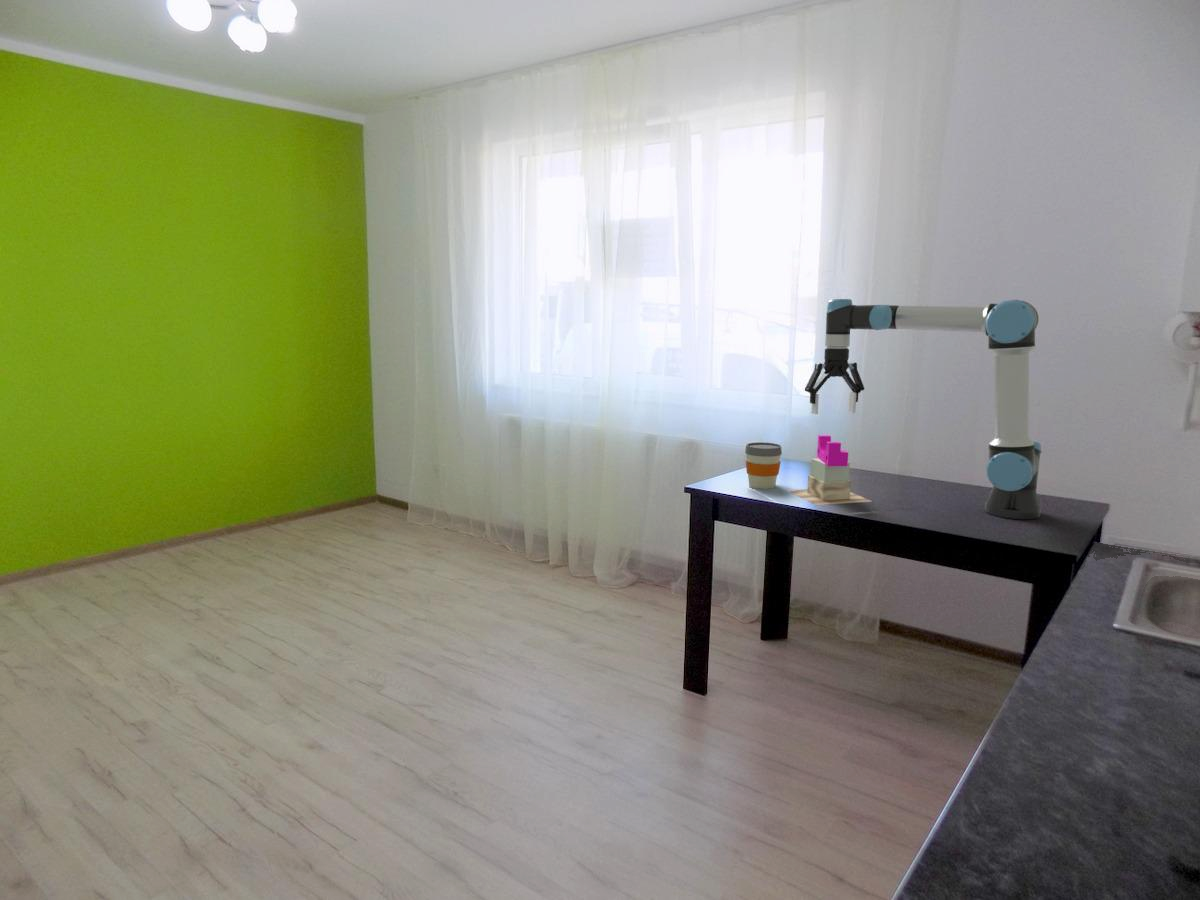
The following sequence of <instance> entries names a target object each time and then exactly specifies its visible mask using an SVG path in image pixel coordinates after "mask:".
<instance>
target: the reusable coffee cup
mask: <svg viewBox="0 0 1200 900" xmlns="http://www.w3.org/2000/svg"><path fill="white" fill-rule="evenodd" d="M782 451H783V450H782V445H781V444H778V443H774V442H773V443H772V442H762V441H761V442H750V443H749V442H748V443H747V444H746V445H745V453H744V454H745V457H746V459H745V467H746V474H747V477H748V487H749V489H753V490H754V489H763V490H764V489H773V488H775V487H776V483H777V477H778V475H779V474H780V469H781V468H780V467H781V461H780V460H781V455H783V453H782Z"/></svg>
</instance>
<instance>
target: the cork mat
mask: <svg viewBox="0 0 1200 900" xmlns="http://www.w3.org/2000/svg"><path fill="white" fill-rule="evenodd" d="M807 490H808V488H806V489H805V488H804V489H789V490H788V489H787V490H786V491H787V492H789V493H791V494H793V495H795V496H797V497H799V498H801V499H803V500H805V501H807V502H810V503H811V504H813V505H815V506H822V505H824V506H825V505H839V504H840V505H841V504H853V503H856V504H857V503H869V502H870V503H871V502H872V500H870V499H867V498H865V497H863V496H862V495H861V496H860V495H858V494H856V493H853V492H851V491H850V498H849V499H834V500H821V499H819V498H817V497H815V496H813V495H810V494H808V493H807Z"/></svg>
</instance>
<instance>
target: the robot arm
mask: <svg viewBox="0 0 1200 900" xmlns="http://www.w3.org/2000/svg"><path fill="white" fill-rule="evenodd" d="M825 319H826V322H825V338H824V339H825V340H824V341H825V342H824V343H825V344H824V346H825V347H826V348H825V349H824V363H821V362H816V363H815V364H814V370H813V371H812V374H811V375H810V378H809V380H808V382H807V384H806V386H805V387H804V391H805V392H807V393H809V404H811V414H813V415H819V414H818V413H819V399H820V397H819V396H820V395H819V393H818V392H819V391H820V390H821V388H822V387H823V385H825V383H826V382H827V380H828V379H830V378H831V377H832V378H836V377H840V378H843V381H844V382H845V383H846V384H847V386H848V387H849V389H850V390H851V391H849V399H848V402H849V403H848V404H849V405H848V413H853V414H854V413H856V410H857V409H856V408H857V407H856V405H857V404H856V403H858V401H859V393H861V392H862V391H864V390H865V386H864V383H863V381H862V378H861V375H860V373H859V371H858V363H857V362H854V361H850V362H849V358H850V356H849V355H850V349H849V348H848V347H850V343H851V330H875V331H882V330H913V331H914V330H917V331H938V332H939V331H940V332H941V331H944V332H947V331H949V332H970V333H983V334H984V335H985V336H987V337H988V341H987V343H988V351H989V352H990V353H991V354H993V356H994V357H993V358H994V359H993V360H994V364H993V365H994V369H993V370H994V371H993V372H994V383H993V384H994V437H993V439H992V440H991V441H989V442H988V461H987V463H986V467H985V470H986V471H985V473H986V476H987V479H988V481H989V482H990V483H991V484H992V485H993V486H992V489H991V491H990V493H989V496H988V499H987V500H986V501H985V504H984V511H985V512H986V513H988V514H991V515H993V516H996V517H1000V518H1005V519H1006V518H1007V519H1015V520H1034V519H1035V520H1036V519H1038V518H1040V517H1041V511H1042V510H1041V506H1040V503H1039V501H1040V500H1039V497H1038V493H1037V488H1038V487H1037V486H1038V477H1039V469H1040V459H1041V454H1042V444H1041V442H1039V441H1034V440H1033V441H1032V439H1030V437H1029V392H1030V391H1029V378H1030V377H1029V372H1030V371H1029V369H1030V368H1029V367H1030V366H1029V363H1030V362H1029V360H1030V359H1029V358H1030V357H1029V356H1030V355H1029V354H1030V352H1032V351H1033V349H1034V348H1035V347H1036V329H1037V327H1038V325H1039V314H1038V311H1037V309H1036V308H1035V307H1034V306H1033V305H1032V304H1031V303H1029V302H1026V301H1025V300H1019V299H1008V300H1003V301H1001V302H999V303H989V304H987V305H986V306H963V305H962V306H959V305H958V306H956V305H955V306H950V305H947V306H945V305H943V306H942V305H897V304H896V305H892V304H891V305H889V304H870V305H869V304H867V305H866V304H863V305H861V304H860V305H856V304H853V301H852V299H850V298H832V299H829V300H828V301H827V307H826V318H825ZM848 369H849V371H850V373H851V376H852V377H851V376H850V374H849V372H848V371H847V370H848ZM823 370H824V371H823ZM822 371H823V372H822ZM820 375H821V376H820ZM852 378H853V379H852Z"/></svg>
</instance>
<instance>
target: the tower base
mask: <svg viewBox="0 0 1200 900" xmlns="http://www.w3.org/2000/svg"><path fill="white" fill-rule="evenodd" d="M851 486H852V480H850V479H849V481H833V482H823V481H821V480H818V479H816V478H814V477H811V476H810V475H808V476H807V489H808V490H807V493H808V494H810V495H813V496H815V497H817V498H819V499H821V500H834V499H849V498H850V492H851V489H852V487H851Z"/></svg>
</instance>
